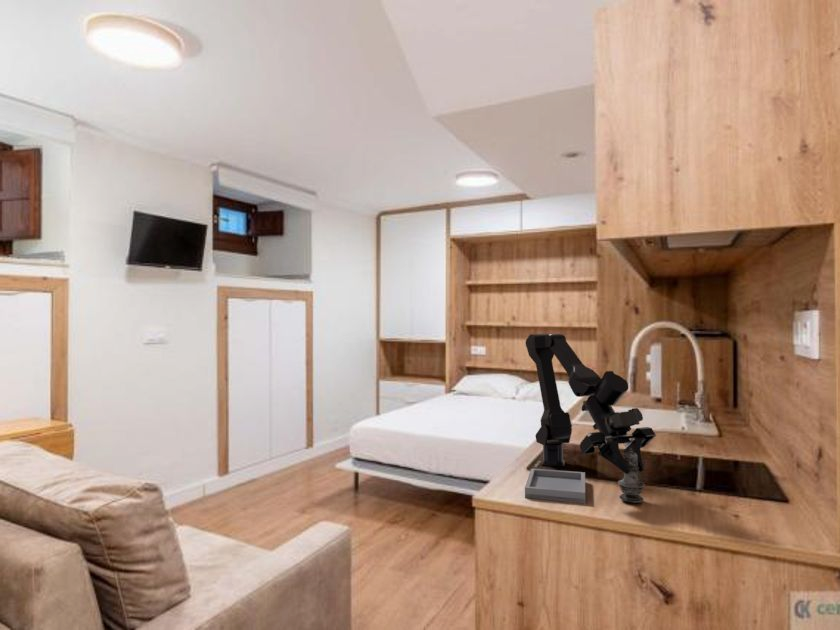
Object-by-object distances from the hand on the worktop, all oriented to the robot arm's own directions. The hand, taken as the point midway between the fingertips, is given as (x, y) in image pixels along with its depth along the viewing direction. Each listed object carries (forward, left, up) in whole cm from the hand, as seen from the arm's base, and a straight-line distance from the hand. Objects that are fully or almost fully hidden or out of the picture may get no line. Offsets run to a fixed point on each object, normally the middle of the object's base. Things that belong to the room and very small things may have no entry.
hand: (635, 472), depth 119 cm
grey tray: (-5, -18, -7) cm, 20 cm away
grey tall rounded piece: (-1, -1, -7) cm, 7 cm away
